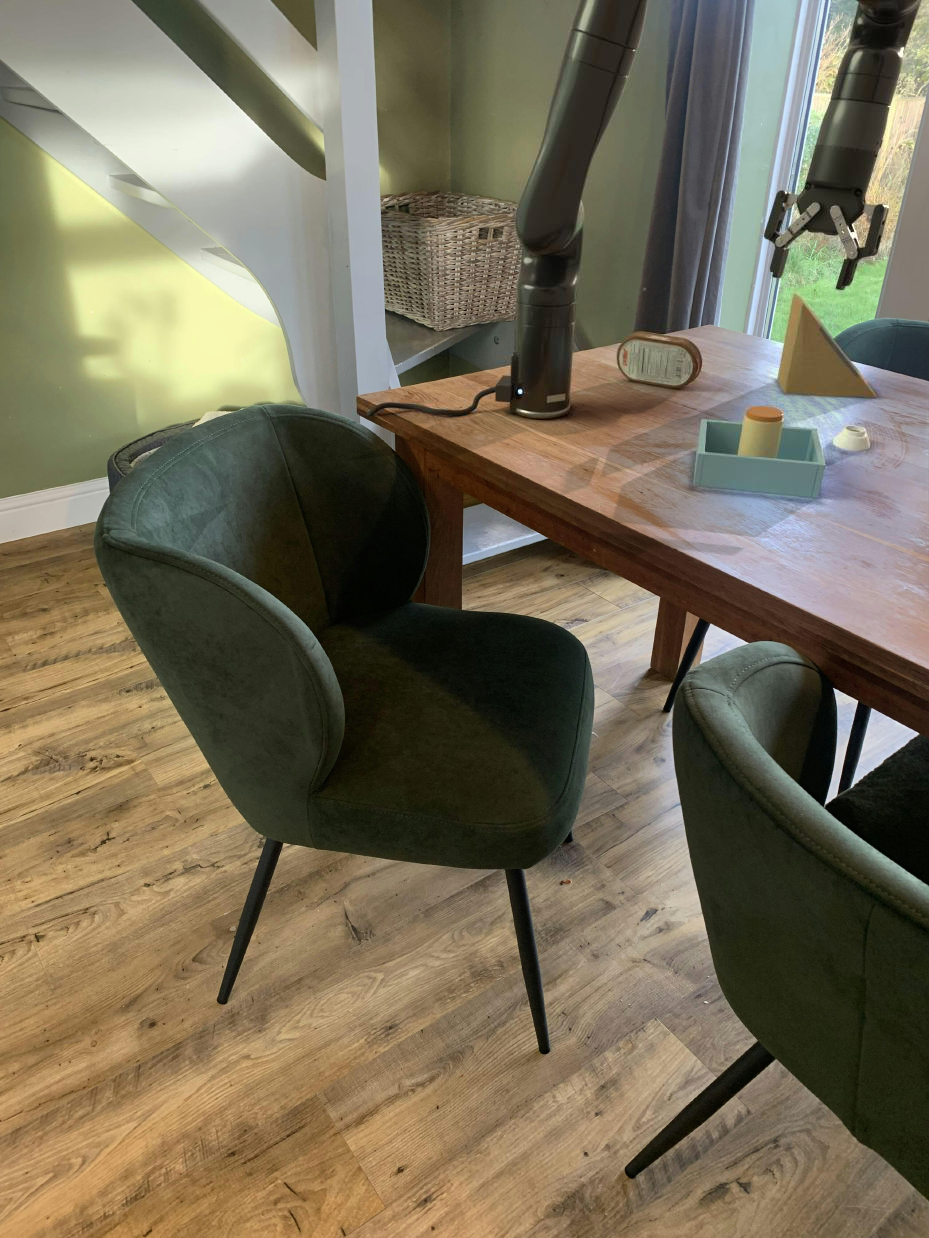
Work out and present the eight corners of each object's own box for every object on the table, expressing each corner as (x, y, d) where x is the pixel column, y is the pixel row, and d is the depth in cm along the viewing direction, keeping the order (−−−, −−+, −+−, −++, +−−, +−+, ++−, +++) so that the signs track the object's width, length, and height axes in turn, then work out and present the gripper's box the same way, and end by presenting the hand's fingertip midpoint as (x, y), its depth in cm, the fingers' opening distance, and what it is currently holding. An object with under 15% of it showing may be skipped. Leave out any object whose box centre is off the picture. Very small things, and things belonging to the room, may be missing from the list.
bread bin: (692, 490, 115) (698, 453, 113) (696, 452, 126) (701, 418, 124) (816, 502, 112) (825, 465, 109) (809, 463, 123) (817, 428, 120)
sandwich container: (878, 398, 148) (901, 306, 140) (784, 394, 149) (802, 303, 141) (866, 383, 155) (888, 294, 147) (776, 379, 157) (793, 291, 149)
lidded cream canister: (734, 477, 117) (745, 416, 113) (734, 463, 122) (745, 403, 117) (773, 481, 116) (786, 419, 112) (772, 467, 120) (784, 407, 116)
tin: (699, 388, 152) (706, 339, 147) (692, 393, 150) (699, 343, 145) (619, 375, 159) (623, 327, 154) (612, 379, 156) (616, 331, 152)
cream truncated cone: (825, 443, 130) (844, 455, 126) (829, 424, 128) (849, 435, 124) (855, 440, 131) (875, 453, 126) (860, 421, 129) (880, 433, 125)
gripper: (782, 137, 109) (746, 275, 117) (900, 150, 102) (854, 295, 110) (800, 142, 114) (765, 273, 122) (913, 154, 108) (869, 292, 115)
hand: (807, 283), depth 116 cm, fingers open, 8 cm apart
